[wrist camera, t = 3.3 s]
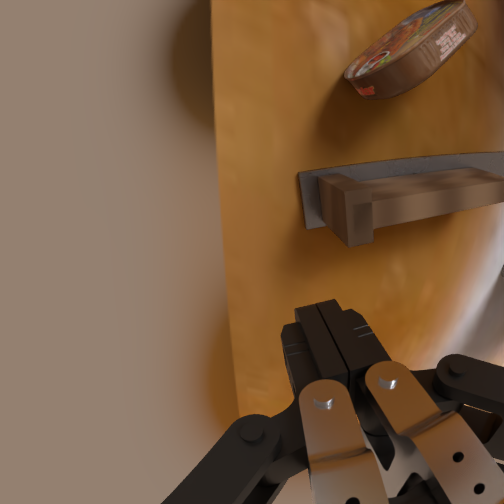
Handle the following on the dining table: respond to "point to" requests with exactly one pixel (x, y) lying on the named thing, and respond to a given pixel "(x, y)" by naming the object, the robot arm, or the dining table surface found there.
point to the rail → (390, 175)
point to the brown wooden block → (402, 199)
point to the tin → (412, 50)
